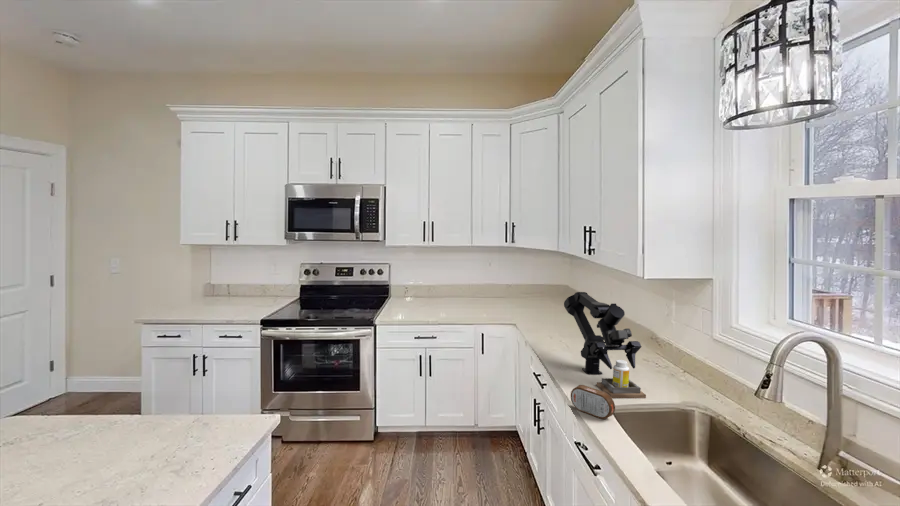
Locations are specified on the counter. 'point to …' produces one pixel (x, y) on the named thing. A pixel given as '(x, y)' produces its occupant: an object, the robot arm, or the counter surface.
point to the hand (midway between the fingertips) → (622, 368)
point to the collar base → (620, 389)
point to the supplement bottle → (620, 374)
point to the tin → (592, 401)
